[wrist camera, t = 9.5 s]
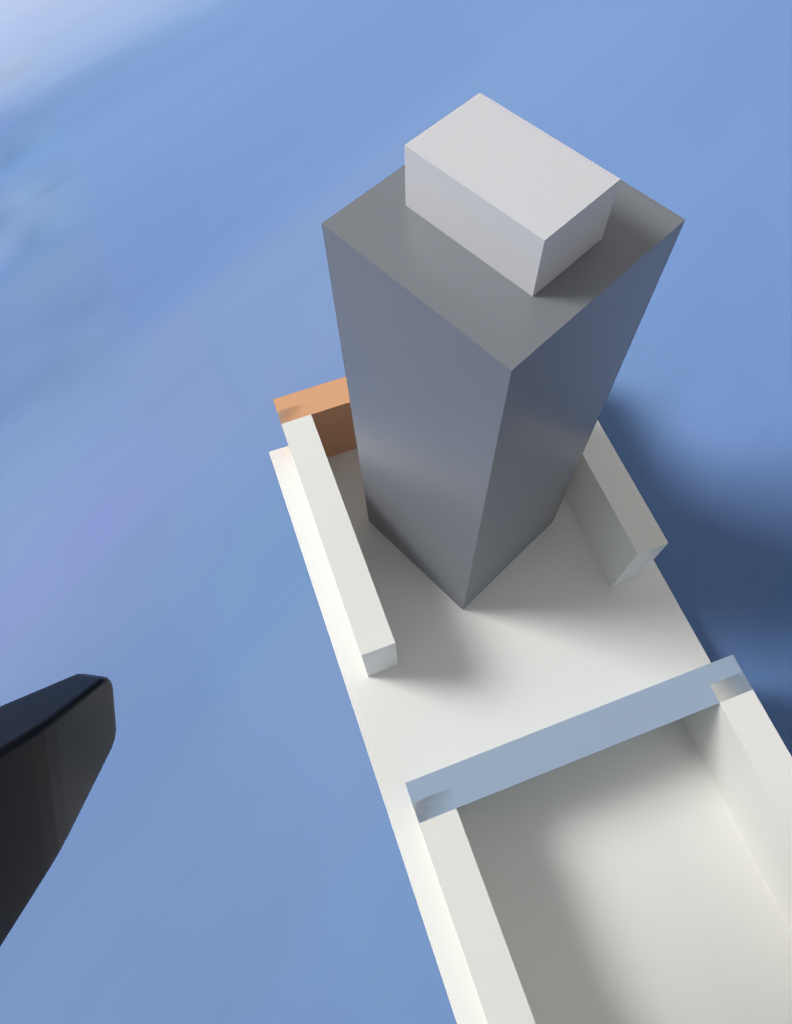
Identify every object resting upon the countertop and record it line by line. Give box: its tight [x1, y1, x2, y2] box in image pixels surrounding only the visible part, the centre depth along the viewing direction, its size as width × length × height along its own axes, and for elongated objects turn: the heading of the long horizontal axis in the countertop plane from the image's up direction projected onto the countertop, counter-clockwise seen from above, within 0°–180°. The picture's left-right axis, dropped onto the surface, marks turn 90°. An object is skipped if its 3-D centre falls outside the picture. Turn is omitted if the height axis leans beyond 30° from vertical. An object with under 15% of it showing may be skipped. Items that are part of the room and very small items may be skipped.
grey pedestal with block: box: [322, 93, 685, 610], centre depth 18 cm, size 4×4×14 cm
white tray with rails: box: [269, 377, 792, 1024], centre depth 21 cm, size 22×11×4 cm, turn 20°
